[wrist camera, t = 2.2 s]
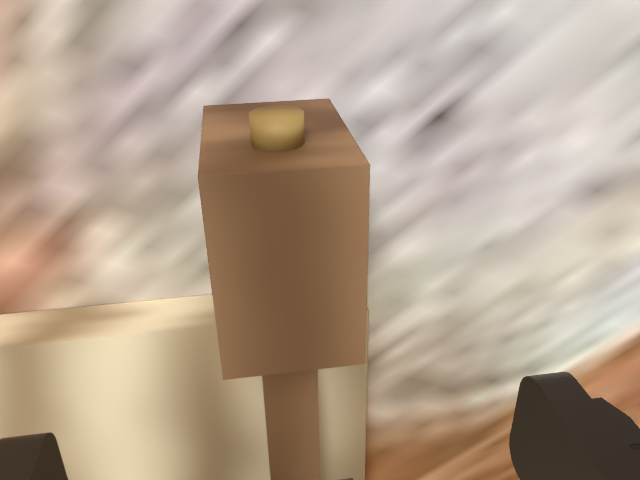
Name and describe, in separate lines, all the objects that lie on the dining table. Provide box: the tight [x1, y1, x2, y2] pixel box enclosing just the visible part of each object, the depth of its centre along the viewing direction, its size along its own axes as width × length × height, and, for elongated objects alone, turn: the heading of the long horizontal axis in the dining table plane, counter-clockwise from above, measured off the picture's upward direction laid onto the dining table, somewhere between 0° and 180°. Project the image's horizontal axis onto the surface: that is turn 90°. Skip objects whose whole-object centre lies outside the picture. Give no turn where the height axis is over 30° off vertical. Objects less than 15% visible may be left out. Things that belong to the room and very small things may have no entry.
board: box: [0, 295, 369, 480], centre depth 24 cm, size 24×14×2 cm, turn 91°
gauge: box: [198, 99, 370, 480], centre depth 20 cm, size 4×17×6 cm, turn 1°
